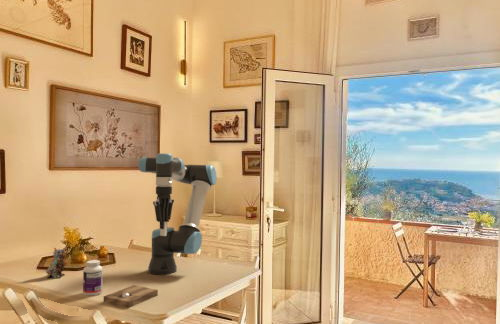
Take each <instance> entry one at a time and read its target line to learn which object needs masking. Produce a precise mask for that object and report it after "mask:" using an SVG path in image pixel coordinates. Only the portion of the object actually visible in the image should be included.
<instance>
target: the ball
mask: <svg viewBox="0 0 500 324" xmlns="http://www.w3.org/2000/svg"><path fill="white" fill-rule="evenodd" d="M129 296H130V295H129V294H128V293H124V294H122V297H121V298H127V297H129Z"/></svg>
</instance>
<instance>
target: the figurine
mask: <svg viewBox="0 0 500 324" xmlns="http://www.w3.org/2000/svg"><path fill="white" fill-rule="evenodd" d="M52 254H53V259H52V260H51V262H50V264H49V266H48V268H47V269H46V271H45V272H46V274H47V275H46V276H45V278H46V279H54V280H55V279H61V278H62V277H63V276H65V273H62V272H63V271H64V269H65V267H66V263H67V261H66V255H67V254H66V247H63V248H61V249H57V248H56V247H54V251H53V253H52Z"/></svg>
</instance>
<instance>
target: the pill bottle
mask: <svg viewBox="0 0 500 324" xmlns="http://www.w3.org/2000/svg"><path fill="white" fill-rule="evenodd" d="M100 262H101V261H100V260H99V259H92V260H88V261H86V266H84V268H83V274H82V275H83V276H82V278H83V279H82V280H83V281H82V282H83V283H82V284H83V285H82V287H83V288H82V292H83V295H85V296H97V295H99V294H101V293H102V292H103V267H102V265H100V264H101V263H100Z"/></svg>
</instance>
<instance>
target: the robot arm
mask: <svg viewBox="0 0 500 324" xmlns="http://www.w3.org/2000/svg"><path fill="white" fill-rule="evenodd" d="M137 164H138V165H137V166H138V170H139V171H140V172H142V173H152V174H154V175H155V185H156V186H155V195H157V196H156V200H155V201H153V202H152V204H153V206H154V212H155V219H156V221H157V222H158V223H159V228H157V229H156V228H155V229H154V230H152V232H151V258H150V262H149V263H148V267H147V268H148V269H147V272H148V273H149V274H152V275H169V274H174V273H176V272H177V271H178V270H177V269H178V266H177V264H176V260H175V259H176V258H175V255H174V253H175V254H186V255H194V254H196V253H197V252H198V251H199V250H200V248H201V246H202V243H203V234H202V233H201V230H200V228H199V225H200V222H201V217H202V214H203V210H204V205H205V202H206V197H207V194H208V191H210V190H211V189H212V186H215V185H216V184H217V179H218V178H217V177H218V176H217V170H216V167H214V166H213V165H212V164H211V165H209V164H184V161H183V160H182V159H181V158H179V157H173V155H172V153H157V154H156V156H155V157H149V156H148V157H147V156H146V157H141V158H140V159H139V160H138V163H137ZM173 181H175V182H179V183H182V184H186V185H191V187H192V190H191V193H190V197H189V199H188V203H187V204H188V205H187V209H186V212H185V215H184V219H183V223H182V224H180V225H179V226H178V230H175V228H174V227H172V226H169V227H168V222H170V220H171V217H172V211H173V204H174V203H175V199H172V198H171V195H172V194H173V187H172V185H173Z"/></svg>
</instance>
